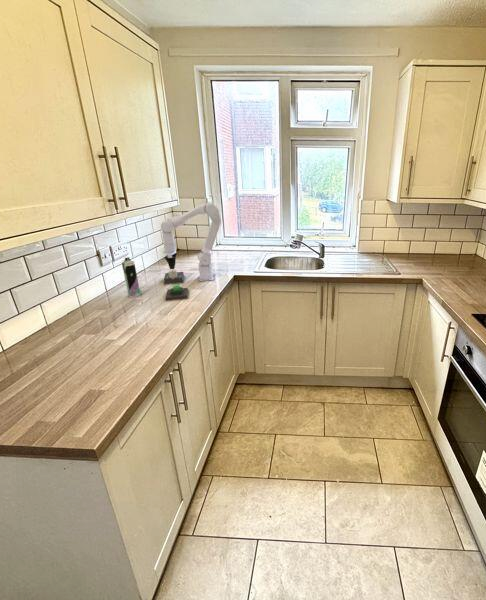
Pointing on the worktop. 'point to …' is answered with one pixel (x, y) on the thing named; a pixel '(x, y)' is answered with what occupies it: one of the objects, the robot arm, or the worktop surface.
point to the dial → (173, 273)
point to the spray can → (131, 278)
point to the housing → (177, 294)
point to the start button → (176, 288)
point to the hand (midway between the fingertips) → (172, 267)
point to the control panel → (174, 280)
